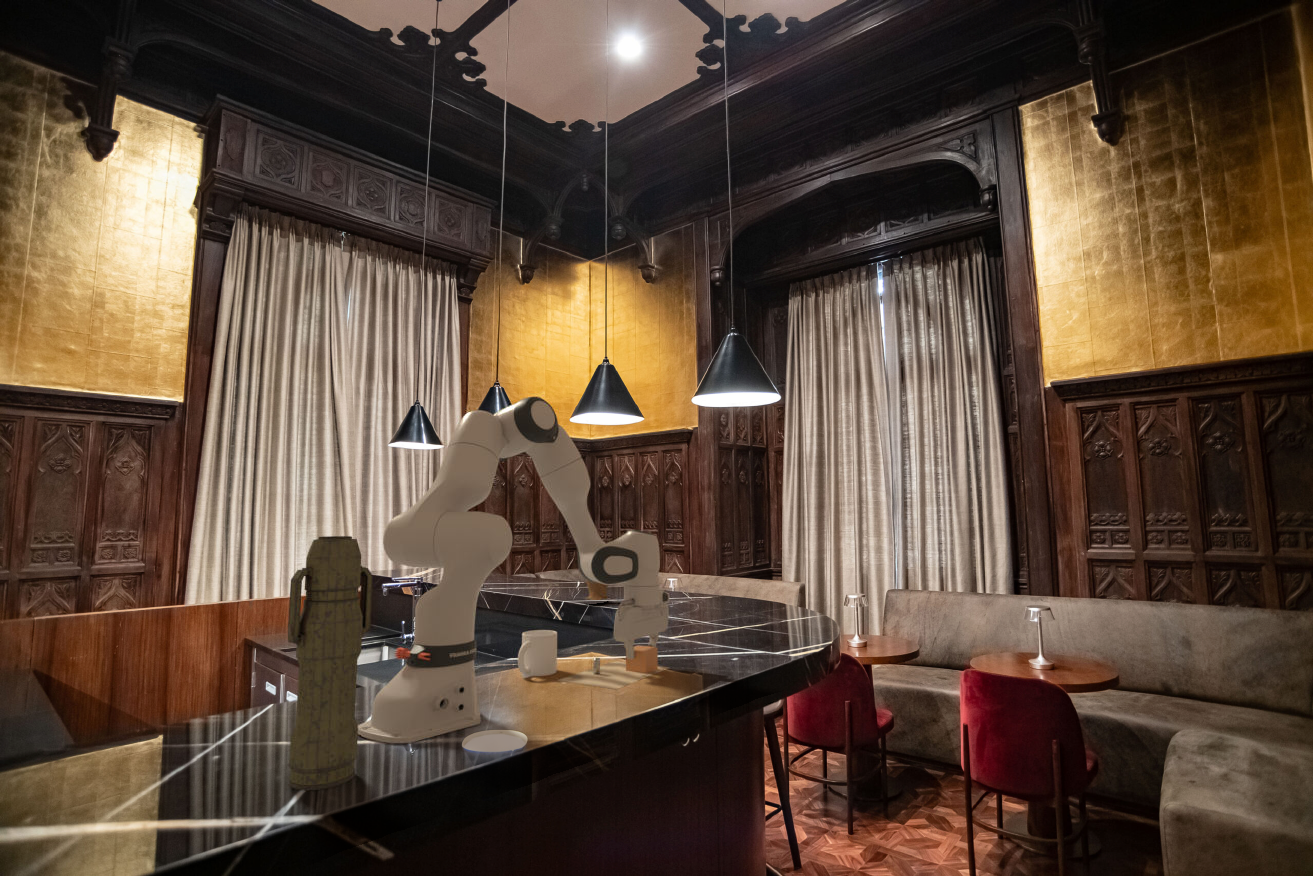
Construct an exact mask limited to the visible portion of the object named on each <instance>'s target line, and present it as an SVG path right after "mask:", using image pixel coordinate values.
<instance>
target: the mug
mask: <svg viewBox="0 0 1313 876" xmlns="http://www.w3.org/2000/svg"><path fill="white" fill-rule="evenodd" d="M557 661H558V632H557V631H555V630H549V629H547V630H546V629H537V630H527V631H524V632H522V634H521V646H520V648H519V650H518V655H517V666H518V670H519V672H520V673H521V677H522V679H526V678H530V677H541V676H542V677H544V676H551V675H554V674H556V673H557V672H558V671H557V670H558V669H557V666H558V665H557V664H558V662H557Z"/></svg>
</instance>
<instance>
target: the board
mask: <svg viewBox="0 0 1313 876" xmlns="http://www.w3.org/2000/svg"><path fill="white" fill-rule="evenodd" d="M665 670H670V667H666V666H658V669H655V670H653V671H650V672H648V673H641V672H633V671H626V661H619V660H617V661H616V660H614V661H611V662H607V663H605V664H602V665H601V664H600V674H593V668H590V669H587V670H583V671H581V672H578V673H575V674H572V675H570V676H566V677H562V678H561V679H558V680H556V682H562V683H569V684H575V685H576V684H577V685H583V686H589V687H597V688H603V689H611V690H615V691H616V690H619V689H621V688H623V687H626V686H628V685H631V684H634V683H636V682H638V681H640V680H643V679H646V678H649V677H651V676H653V675H656V674H658V673H661V672H663V671H665Z"/></svg>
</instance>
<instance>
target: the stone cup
mask: <svg viewBox="0 0 1313 876" xmlns="http://www.w3.org/2000/svg"><path fill="white" fill-rule="evenodd" d="M585 582H586V584H587V589H588V597H585V598H584V599H590V600H601V599H607V598H611V597H610V596H608V595H607V590H608V586H609V585H605V584H601V583H593V582H590V581H588V580H586V579H585Z"/></svg>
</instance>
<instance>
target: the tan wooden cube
mask: <svg viewBox="0 0 1313 876" xmlns="http://www.w3.org/2000/svg"><path fill="white" fill-rule="evenodd" d="M633 647H634V651H636V658H634V659H627V651H626V650H625V662H626V671H633V672H641V673H648V672H650V671H653V670H655V669H658V664H659V663H658V661H659V660H658V659H659V658H658V656H659V655H658V651H659V650H658V649H659V647H657V646H656V647H649V646H647V645H639V644H637V645H633Z"/></svg>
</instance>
